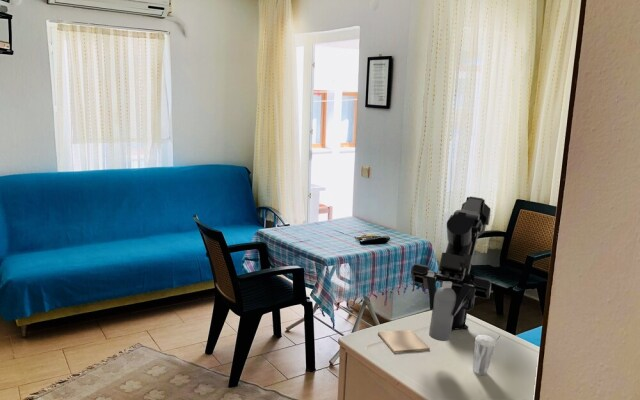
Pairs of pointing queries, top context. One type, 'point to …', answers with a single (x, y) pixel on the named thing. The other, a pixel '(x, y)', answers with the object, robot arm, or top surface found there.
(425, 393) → the top surface
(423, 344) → the cork mat
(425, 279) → the robot arm
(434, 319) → the grey bottle
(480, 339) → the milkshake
